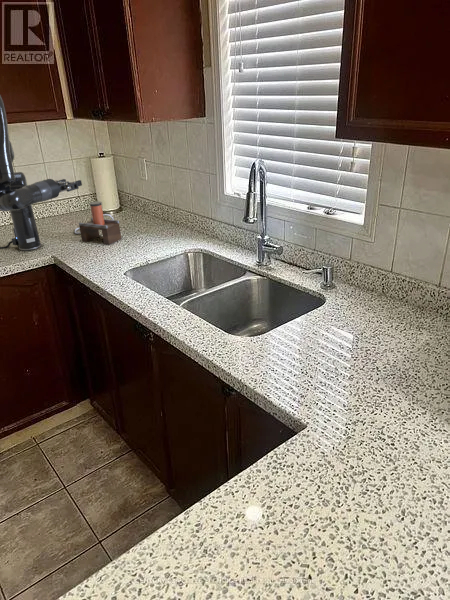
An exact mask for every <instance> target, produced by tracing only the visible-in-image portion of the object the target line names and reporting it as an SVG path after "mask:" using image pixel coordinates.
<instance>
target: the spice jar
mask: <svg viewBox="0 0 450 600" xmlns="http://www.w3.org/2000/svg"><path fill="white" fill-rule="evenodd" d="M89 207H90V212H91V218H93V224H97V225H104V224H105V222H104V219H105V215H103V214H104V210H103V202H102V201H99V200H98V201H97V200H95V201H91V202H89Z"/></svg>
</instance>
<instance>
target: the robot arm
mask: <svg viewBox="0 0 450 600" xmlns="http://www.w3.org/2000/svg"><path fill="white" fill-rule="evenodd" d="M14 160H15V152H14V148H13V144H12V142H11V141H10V132H9V124H8V117H7V110H6V105H5V102H4V99H3V97H2V95H1V94H0V211H2V212H9V214H10V217H11V221H12V225H13V227H12V230H13V235H14V237H13V238H11V240H10V241H9V242H8V243H7V245H5V246H0V250H1V249H3V250H4V249H7V248H9V247H10V246H11V244H12V245H13V246H17V249H19V250H20V251H23V252H24V251H33V250H37V249H40V248H41V247H42V243H41V240H40V235H39V230H38V226H37V222H36V219H35V218H36V217H35V214H34V209H33V206H32V205H35V204H38V203H43V202H46V201H50V200H53V199H56V198H58V197H59V195H60V193H63V192H67V193H68V192H71V191H75V190H79V187H82V186H83V183H82V180H81V179H78V180H75V181H69V180H66V179H65V178H62V179H58V180H57V179H55V180H54V179H52V178H46V179H43V180H39V181H36V182H34V183H31V184H28V181H27V178H26V175H25V173H24V172H22V171H15V170H14V164H13V162H14Z"/></svg>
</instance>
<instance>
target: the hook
mask: <svg viewBox="0 0 450 600" xmlns="http://www.w3.org/2000/svg"><path fill="white" fill-rule="evenodd" d="M103 216H108V217H110V218H111V220H115V219H114V217H113V216H112V215H111V214H109V213H103ZM78 230H80V228H79V227H76V228H75V229H74V235H75V234H76V235H81V233H80V231H78ZM77 231H78V232H77Z"/></svg>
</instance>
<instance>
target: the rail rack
mask: <svg viewBox="0 0 450 600" xmlns="http://www.w3.org/2000/svg"><path fill="white" fill-rule="evenodd" d="M104 222H105V224H104V225H97V224H93V218H92V217H91V218H90V221H87V222H78V228H80V229H79V232H80V233H81V234H80V237H81V242H85V243H86V242H89V241H92V240H95V239H96V238H98V237H100V231H101V232H102V240H103V244H104V245H108V246H109V245H111V244H113V243H115V242H118V241H120V240H122V233H121V232H122V231H121V226H120V220H116V219H114V220H112V219H108V218H107V219H106V218H104Z"/></svg>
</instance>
